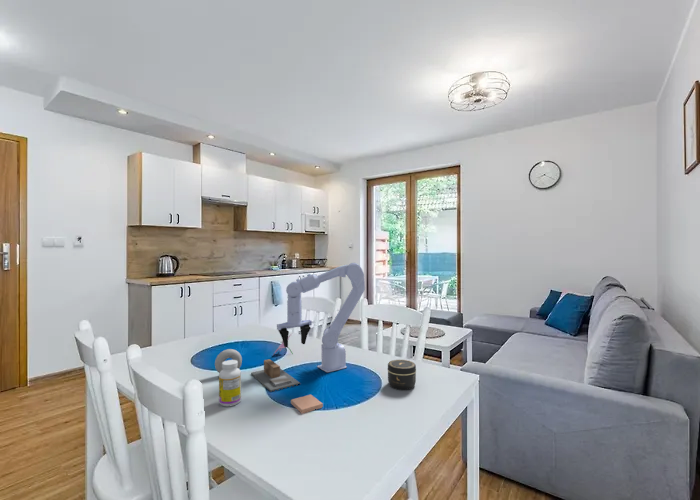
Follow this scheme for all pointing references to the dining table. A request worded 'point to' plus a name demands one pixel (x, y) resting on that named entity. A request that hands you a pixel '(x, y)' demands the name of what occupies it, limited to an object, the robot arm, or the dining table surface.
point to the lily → (282, 346)
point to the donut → (224, 355)
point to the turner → (275, 373)
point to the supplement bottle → (229, 383)
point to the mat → (264, 378)
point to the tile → (306, 403)
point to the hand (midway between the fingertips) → (294, 345)
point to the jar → (401, 374)
